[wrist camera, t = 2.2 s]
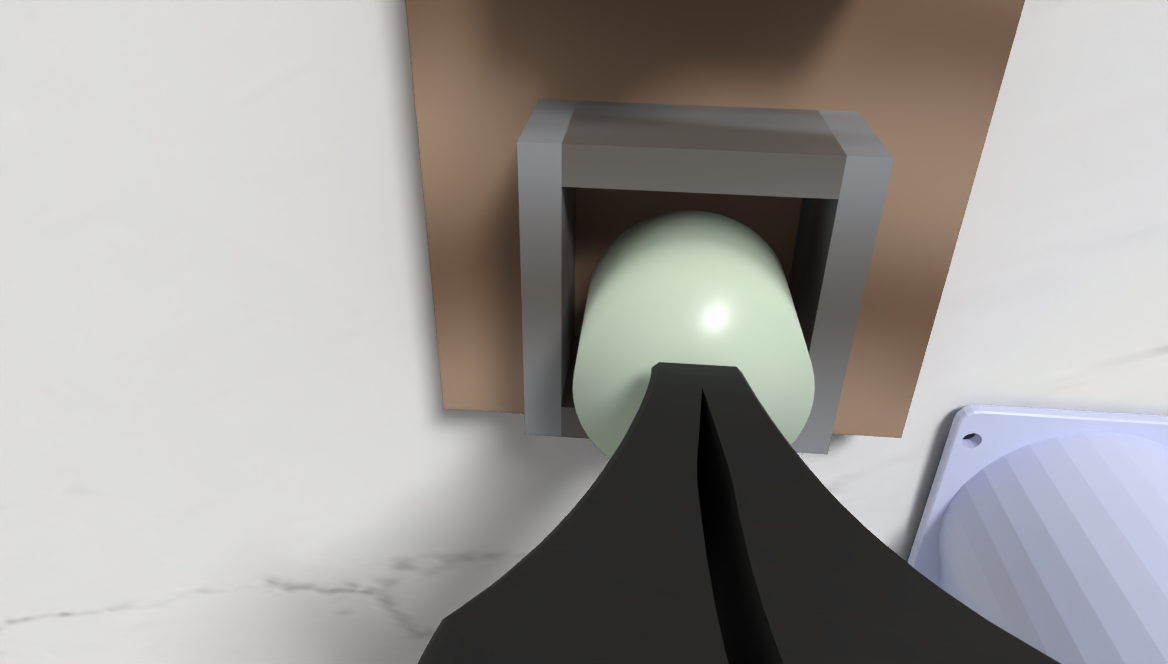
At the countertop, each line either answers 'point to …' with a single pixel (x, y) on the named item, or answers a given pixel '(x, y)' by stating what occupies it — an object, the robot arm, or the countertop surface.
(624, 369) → the sage spring button
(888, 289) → the button panel
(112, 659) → the countertop surface
